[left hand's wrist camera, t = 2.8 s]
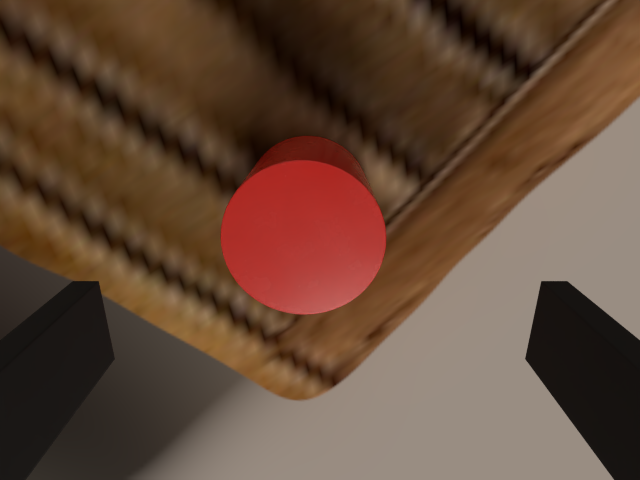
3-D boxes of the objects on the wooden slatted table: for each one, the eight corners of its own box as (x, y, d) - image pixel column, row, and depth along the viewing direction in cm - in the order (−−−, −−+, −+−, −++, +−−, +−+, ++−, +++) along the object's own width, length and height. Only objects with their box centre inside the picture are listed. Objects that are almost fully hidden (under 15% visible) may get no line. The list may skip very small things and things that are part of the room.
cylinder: (283, 269, 29) (270, 336, 22) (225, 169, 27) (188, 206, 19) (386, 222, 28) (411, 276, 20) (336, 113, 25) (343, 128, 18)
